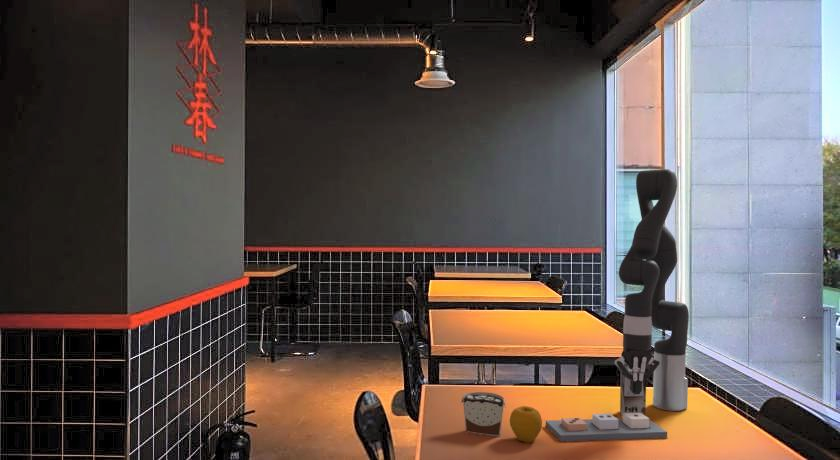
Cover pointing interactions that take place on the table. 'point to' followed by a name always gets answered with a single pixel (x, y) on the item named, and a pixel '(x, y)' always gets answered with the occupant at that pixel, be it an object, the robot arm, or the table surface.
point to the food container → (483, 412)
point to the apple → (526, 423)
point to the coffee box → (631, 397)
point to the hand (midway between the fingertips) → (635, 393)
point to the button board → (605, 432)
